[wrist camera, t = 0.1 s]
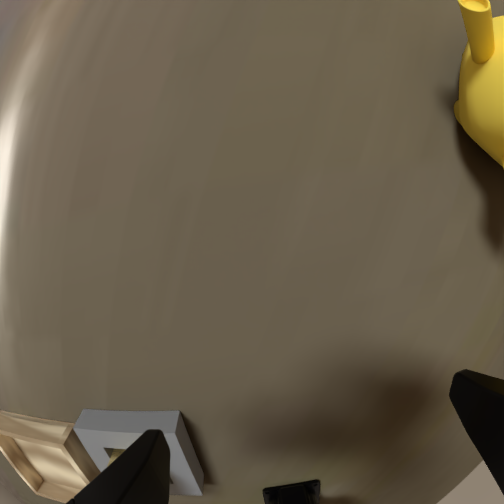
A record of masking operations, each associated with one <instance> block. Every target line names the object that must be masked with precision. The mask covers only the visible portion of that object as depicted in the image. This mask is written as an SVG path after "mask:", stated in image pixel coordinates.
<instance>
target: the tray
mask: <svg viewBox="0 0 504 504" xmlns="http://www.w3.org/2000/svg"><path fill="white" fill-rule="evenodd" d="M74 425H75V423H69V422H61V421H55V420H48V419H42V418H36V417H31V416H26V415H21V414H16V413H11V412H7V411H3V410H0V450H1V452H2V453H3V454H4V456H5V457H6V458H7V460H8V461H9V462H10V464H11V465H12V466H13V468H14V469H15V470H16V471H17V473H18V474H19V475H20V476H21V478H22V479H23V480H24V481H25V482H26V483H27V485H28V486H29V487H30V488H31V489H32V490H33V491H34V493H35V494H37V495H40V496H43V497H46V498H49V499H53V500H56V501H59V502H63V503H67V502H68V501H69V500H70V499H71V498H74V496H75V495H76V494H77V493H78V492H80V491H81V490H82V489H83V488H84V487H85V486H86V485H88V484H89V483H90V482H91V481H92V480H93V479H94V478H95V477H97V476H98V475H99V474H100V473H101V472H100V470H99V469H98V467H97V466H96V464H95V463H94V461H93V460H92V458H91V457H90V455H89V454H88V452H87V450H86V449H85V447H84V446H83V444H82V442H81V441H80V439H79V437H78V436H77V434H76V432H75V431H74V429H73V427H74Z"/></svg>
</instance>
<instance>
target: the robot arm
mask: <svg viewBox="0 0 504 504" xmlns="http://www.w3.org/2000/svg"><path fill="white" fill-rule="evenodd" d="M449 396H450V400H451V402H452V404H453V406H454V408H455V410H456V412H457V414H458V416H459V418H460V420H461V422H462V424H463V426H464V428H465V430H466V432H467V434H468V435H469V437H470V439H471V440H472V442H473V443H474V445H475V447H476V448H477V450H478V452H479V453H480V455H481V456H482V458H483V460H484V461H485V463H486V465H487V467H488V468H489V470H490V472H491V474H492V475H493V477H494V479H495V481H496V482H497V484H498V486H499V487H500V490H501V491H502V493H503V495H504V380H502V379H499V378H495V377H492V376H488V375H485V374H481V373H478V372H474V371H471V370H467V369H464V370H461V371H459V372H457V373H455V375H454V377H453V381H452V385H451V388H450V392H449ZM170 456H171V454H170V448H169V445H168V443H167V441H166V438H165V436H164V433H163V432H162V430H160V429H148V430H146V431H145V432H144V433H143V434H142V435H141V436H140V437H139V438H138V439H137V440H135V441H134V442H133V443H132V444H131V445H130V446H129V447H128V448H127V449H126V450H125V451H124V452H123V453H122V454H121V455H120V456H118V457H117V458H116V459H115V460H114V461H113V462H112V463H111V464H110V465H109V466H108V467H107V468H105V469H104V470H103V471H102V472H101V473H100V474H99V475H98V476H97V477H95V478H94V479H93V480H92V481H91V482H90V483H89V484H88V485H86V486H85V487H84V488H83V489H82V490H81V491H80V492H78V493H77V494H76V495H75V496H74V498H71V499H70V500H69V501H68V502H67V503H66V504H168V502H169V490H170ZM319 493H320V482H319V481H318V480H314V481H309V482H304V483H299V484H293V485H287V486H280V487H273V488H266V489H263V497H264V501H265V504H319Z"/></svg>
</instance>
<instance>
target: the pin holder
mask: <svg viewBox="0 0 504 504" xmlns="http://www.w3.org/2000/svg"><path fill="white" fill-rule="evenodd" d="M73 429H74V431H75V432H76V434H77V436H78V437H79V439H80V441H81V442H82V444H83V446H84V447H85V449H86V450H87V452H88V454H89V455H90V457H91V458H92V460H93V461H94V463H95V464H96V466H97V467H98V469H99V470H100V472H102V471H103V470H104V469H105V468H107V465H108V463H109V460H110V458H111V455H112V452H113V450H114V448H116V449H127V448H128V447H129V446H130V445H131V444H132V443H133V442H134V441H135V440H137V439H138V438H139V437H140V436H141V435H142V434H143V433H144V432H145V431H146V430H148V429H160V430H162V432H163V433H164V436H165V438H166V441H167V443H168V445H169V448H170V454H171V456H170V490H169V495H203V483H204V473H203V471H202V468H201V466H200V463H199V461H198V458H197V456H196V453H195V451H194V448H193V446H192V443H191V441H190V438H189V435H188V433H187V430H186V427H185V424H184V422H183V419H182V416H181V413H180V411H110V410H92V409H84V410H83V411H82V413H81V415H80V416H79V418H78V420H77V421H76V423H75V425H74V427H73Z"/></svg>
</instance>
